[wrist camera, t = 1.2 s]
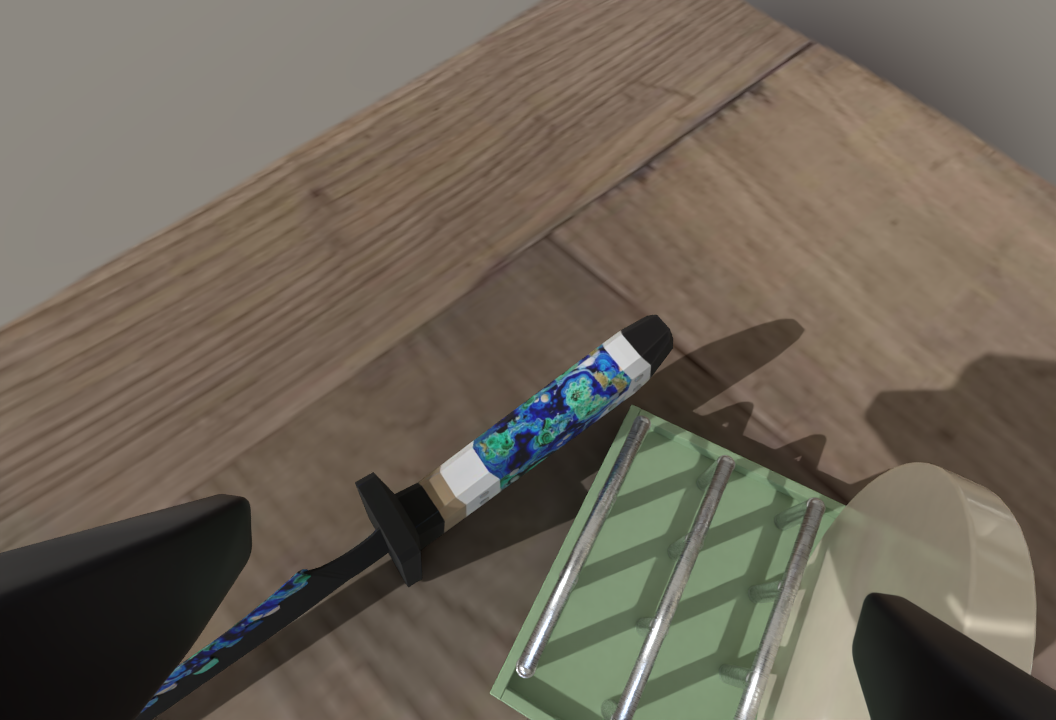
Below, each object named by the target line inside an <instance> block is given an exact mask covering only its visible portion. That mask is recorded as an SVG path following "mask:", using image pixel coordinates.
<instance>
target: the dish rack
mask: <svg viewBox="0 0 1056 720" xmlns="http://www.w3.org/2000/svg"><path fill="white" fill-rule="evenodd" d="M845 507H846V506H845V505H843V504H841V503H839V502H837V501H835V500H833V499H831V498H829V497H826V496H824V495H822V494H820V493H818V492H816V491H814V490H812V489H809V488H807V487H805V486H803V485H801V484H799V483H797V482H795V481H793V480H790V479H788V478H786V477H784V476H782V475H780V474H778V473H776V472H774V471H771V470H769V469H767V468H765V467H763V466H761V465H759V464H757V463H755V462H752V461H750V460H748V459H746V458H744V457H742V456H740V455H738V454H736V453H733V452H731V451H729V450H727V449H725V448H723V447H721V446H719V445H717V444H714V443H712V442H710V441H708V440H706V439H704V438H702V437H700V436H698V435H695V434H693V433H691V432H689V431H687V430H685V429H683V428H681V427H678V426H676V425H674V424H672V423H670V422H668V421H666V420H664V419H662V418H659V417H657V416H655V415H653V414H651V413H649V412H647V411H645V410H643V409H640V408H638V407H636V406H634V405H631V407H630V409H629V411H628V413H627V415H626V417H625V419H624V421H623V423H622V425H621V427H620V429H619V431H618V433H617V435H616V437H615V439H614V441H613V443H612V445H611V447H610V449H609V451H608V453H607V456H606V458H605V460H604V462H603V464H602V466H601V468H600V470H599V472H598V474H597V476H596V478H595V480H594V482H593V484H592V486H591V488H590V490H589V492H588V494H587V496H586V498H585V500H584V502H583V504H582V506H581V508H580V510H579V512H578V514H577V516H576V518H575V521H574V523H573V525H572V527H571V529H570V531H569V533H568V535H567V537H566V539H565V541H564V543H563V545H562V547H561V549H560V551H559V553H558V555H557V557H556V559H555V561H554V563H553V565H552V567H551V569H550V571H549V573H548V575H547V577H546V579H545V581H544V584H543V586H542V588H541V590H540V592H539V594H538V596H537V598H536V600H535V602H534V604H533V606H532V608H531V610H530V612H529V614H528V616H527V618H526V620H525V622H524V624H523V626H522V628H521V630H520V632H519V634H518V636H517V638H516V640H515V642H514V644H513V646H512V649H511V651H510V653H509V655H508V657H507V659H506V661H505V663H504V665H503V667H502V669H501V671H500V673H499V675H498V677H497V679H496V681H495V683H494V685H493V687H492V689H491V691H490V694H491V695H493V696H494V697H496V698H497V699H501V701H502V702H504V703H505V704H507V705H509V706H510V707H512V708H513V709H515V710H517V711H518V712H520V713H521V714H523V715H525V716H526V717H528V718H529V719H531V720H757V714H758V708H759V705H760V702H761V699H762V696H763V693H764V690H765V689H766V686H767V681H768V678H769V675H770V672H771V669H772V666H773V663H774V660H775V657H776V654H777V651H778V648H779V645H780V642H781V639H782V637H783V634H784V631H785V628H786V625H787V622H788V619H789V616H790V613H791V610H792V607H793V604H794V601H795V598H796V596H797V592H798V589H799V586H800V583H801V580H802V577H803V574H804V571H805V568H806V565H807V562H808V560H809V559H810V557H811V555H812V553H813V552H814V550H815V548H816V547H817V545H818V543H819V542H820V540H821V539H822V537H823V536H824V534H825V533H826V531H827V530H828V528H829V527H830V526H831V524H832V523H833V522H834V520H835V519H836V518H837V516H838V515H839V514H840V513H841V511H842V510H843V509H844V508H845Z"/></svg>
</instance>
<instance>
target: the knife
mask: <svg viewBox="0 0 1056 720" xmlns="http://www.w3.org/2000/svg"><path fill="white" fill-rule="evenodd" d="M672 349H673V337H672V334H671V331H670V329H669V328H668V327H667V325H666V324H665V323H664V322H663V321H662V320H661V319H660V318H659V317H658V315H650V316H646V317H644V318H642V319H641V320H639V321H637V322H635V323H633V324H631V325H630V326H628V327H626V328H624V329H622V330H621V331H619V332H618V333H616V334H615V335H614V336H612V337H611V338H610V339H608V340H607V341H606V342H604V343H603V344H602V345H600V346H599V347H598V348H596V349H595V350H594V351H592V352H591V353H590V354H588V355H587V356H586V357H584V358H583V359H582V360H580V361H579V362H578V363H576V364H575V365H574V366H572V367H571V368H570V369H568V370H567V371H566V372H564V373H563V374H562V375H560V376H559V377H558V378H556V379H555V380H554V381H552V382H551V383H550V384H548V385H547V386H546V387H544V388H543V389H542V390H540V391H539V392H538V393H536V394H535V395H534V396H532V397H531V398H530V399H528V400H527V401H526V402H524V403H523V404H522V405H520V406H519V407H518V408H516V409H515V410H514V411H512V412H511V413H510V414H508V415H507V416H506V417H504V418H503V419H502V420H500V421H499V422H498V423H496V424H495V425H494V426H492V427H491V428H490V429H488V430H487V431H486V432H484V433H483V434H482V435H480V436H479V437H478V438H476V439H475V440H474V441H472V442H471V443H470V444H469V445H467V446H466V447H465V448H463V449H462V450H461V451H459V452H458V453H457V454H455V455H454V456H453V457H451V458H450V459H449V460H447V461H446V462H445V463H443V464H442V465H441V466H439V467H438V468H437V469H435V470H434V471H433V472H431V473H430V474H429V475H427V476H426V477H425V478H423V479H422V480H421V481H419V482H418V483H416V484H414V485H412V486H410V487H408V488H406V489H404V490H402V491H400V492H398V493H396V494H394V493H393V492H392V491H391V490H390V489H389V488H388V487H387V486H386V485H385V484H384V483H383V482H382V481H381V480H380V479H379V478H378V477H377V475H376V474H375V473H374V472H373V473H371V474H369V475H367V476H366V477H364V478H362V479H360V480H359V481H357V482H355V484H356V487H357V489H358V492H359V494H360V497H361V499H362V502H363V504H364V507H365V509H366V512H367V514H368V517H369V519H370V521H371V523H372V524H373V526H374V528H375V531H374V532H373V533H372V534H371V535H370V536H369V537H368V538H367V539H365V540H364V541H363V542H361V543H360V544H359V545H357V546H356V547H354V548H353V549H352V550H350V551H349V552H347V553H345V554H344V555H342V556H340V557H339V558H337V559H335V560H333V561H331V562H329V563H327V564H325V565H323V566H321V567H319V568H315V569H312V570H307V569H303V570H301V571H299V572H297V573H296V574H295V575H294V576H293V577H292V578H291V579H290V580H288V581H287V582H286V583H285V584H284V585H283V586H282V587H281V588H279V589H278V590H277V591H276V592H275V593H274V594H273V595H271V596H270V597H269V598H268V599H266V600H265V601H264V602H263V603H262V604H260V605H259V606H258V607H257V608H256V609H254V610H253V611H252V612H251V613H250V614H248V615H247V616H246V617H244V618H243V619H242V620H241V621H239V622H238V623H237V624H236V625H234V626H233V627H232V628H231V629H229V630H228V631H227V632H225V633H224V634H223V635H221V636H220V637H219V638H217V639H216V640H214V641H213V642H212V643H210V644H209V645H207V646H206V647H204V648H203V649H202V650H200V651H199V652H197V653H196V654H195V655H193V656H192V657H190V658H189V659H188V660H186V661H185V662H183V663H182V664H180V665H179V666H178V667H176V668H175V670H174V671H173V672H172V674H171V675H170V676H169V677H168V679H167V680H166V681H165V682H164V684H163V685H162V686H161V687H160V689H159V690H158V691H157V692H156V694H155V695H154V696H153V697H152V699H151V700H150V701H149V703H148V704H147V705H146V706H145V708H144V709H143V710H142V711H141V713H140V714H139V715H138V716H137V718H136V719H135V720H152V719H153V718H155V717H156V716H158V715H159V714H161V713H162V712H164V711H165V710H166V709H168V708H169V707H171V706H172V705H174V704H175V703H177V702H178V701H179V700H181V699H182V698H184V697H185V696H187V695H188V694H190V693H191V692H192V691H194V690H195V689H197V688H198V687H200V686H201V685H202V684H204V683H205V682H207V681H208V680H210V679H211V678H213V677H214V676H215V675H217V674H218V673H220V672H221V671H223V670H224V669H226V668H227V667H228V666H230V665H231V664H233V663H234V662H236V661H237V660H238V659H240V658H241V657H243V656H244V655H246V654H247V653H249V652H250V651H251V650H253V649H254V648H256V647H257V646H259V645H260V644H261V643H263V642H264V641H266V640H267V639H269V638H270V637H271V636H273V635H274V634H276V633H277V632H278V631H280V630H281V629H283V628H284V627H286V626H287V625H288V624H290V623H291V622H293V621H294V620H295V619H297V618H298V617H300V616H301V615H302V614H304V613H305V612H306V611H308V610H309V609H310V608H312V607H313V606H314V605H316V604H317V603H318V602H320V601H321V600H322V599H324V598H325V597H326V596H328V595H329V594H330V593H332V592H333V591H334V590H336V589H337V588H338V587H340V586H341V585H343V584H344V583H345V582H347V581H348V580H349V579H351V578H353V577H354V576H356V575H357V574H359V573H360V572H362V571H363V570H365V569H366V568H368V567H369V566H370V565H372V564H373V563H375V562H376V561H377V560H379V559H380V558H382V557H383V556H384V555H386V554H387V553H389V555H390V556H391V558H392V560H393V562H394V564H395V565H396V567H397V569H398V571H399V572H400V574H401V576H402V578H403V579H404V581H405V583H406V585H407V586H408V587H410V586H411V585H413V584H414V583H416V582H418V581H419V580H421V579H422V569H421V550H422V549H423V548H425V547H426V546H427V545H429V544H430V543H431V542H433V541H434V540H435V539H437V538H438V537H440V536H441V535H442V534H444V533H445V532H446V531H447V530H449V529H450V528H452V527H453V526H454V525H456V524H457V523H458V522H460V521H461V520H462V519H464V518H465V517H467V516H468V515H469V514H471V513H472V512H473V511H475V510H476V509H477V508H479V507H480V506H482V505H483V504H484V503H486V502H487V501H488V500H490V499H491V498H492V497H494V496H495V495H497V494H498V493H499V492H501V491H502V490H503V489H505V488H506V487H507V486H509V485H510V484H511V483H513V482H514V481H516V480H517V479H518V478H520V477H521V476H522V475H524V474H525V473H526V472H528V471H529V470H531V469H532V468H533V467H535V466H536V465H537V464H539V463H540V462H541V461H543V460H544V459H546V458H547V457H548V456H550V455H551V454H552V453H554V452H555V451H556V450H558V449H559V448H561V447H562V446H563V445H565V444H566V443H567V442H569V441H570V440H571V439H573V438H574V437H575V436H577V435H578V434H580V433H581V432H582V431H584V430H585V429H586V428H588V427H589V426H590V425H592V424H593V423H595V422H596V421H597V420H599V419H600V418H601V417H603V416H604V415H605V414H607V413H608V412H610V411H611V410H613V409H614V408H615V407H616V406H618V405H619V404H620V403H622V402H623V401H625V400H626V399H627V398H629V397H630V396H631V395H633V394H634V393H635V392H636V391H637V390H639V389H640V388H641V387H642V386H643V385H644V384H645V383H646V382H647V381H648V380H649V379H650V378H651V377H652V375H653V374H654V373H655V371H656V370H657V369H658V367H659V366H660V365H661V363H662V362H663V361H664V359H665V358H666V357H667V355H668V354H669V353H670V351H671V350H672Z"/></svg>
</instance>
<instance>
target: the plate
mask: <svg viewBox="0 0 1056 720" xmlns="http://www.w3.org/2000/svg"><path fill="white" fill-rule="evenodd" d="M872 592H877V593H884V594H890V595H897V596H901V597H904V598H906V599H907V600H909V601H910V602H912V603H914V604H915V605H917V606H919V607H920V608H922V609H924V610H925V611H927V612H928V613H930V614H932V615H933V616H935V617H937V618H938V619H940V620H941V621H943V622H945V623H946V624H948V625H950V626H951V627H953V628H954V629H956V630H958V631H959V632H961V633H963V634H964V635H966V636H968V637H969V638H971V639H972V640H974V641H976V642H977V643H979V644H981V645H982V646H984V647H985V648H987V649H989V650H990V651H992V652H994V653H995V654H997V655H999V656H1000V657H1002V658H1003V659H1005V660H1007V661H1008V662H1010V663H1012V664H1013V665H1015V666H1016V667H1018V668H1020V669H1021V670H1023V671H1025V672H1026V673H1028V674H1030V675H1031V669H1032V662H1033V654H1034V646H1035V639H1036V611H1037V602H1036V590H1035V577H1034V571H1033V566H1032V561H1031V557H1030V552H1029V548H1028V545H1027V543H1026V540H1025V537H1024V534H1023V532H1022V529H1021V527H1020V525H1019V523H1018V522H1017V520H1016V518H1015V516H1014V515H1013V513H1012V511H1011V510H1010V509H1009V508H1008V506H1007V505H1006V504H1005V503H1004V502H1003V501H1002V500H1001V499H1000V497H999V496H997V495H996V494H995V493H993V492H992V491H990V490H989V489H988V488H986V487H985V486H982V485H980V484H978V483H976V482H973V481H971V480H969V479H967V478H964V477H962V476H960V475H958V474H955V473H953V472H951V471H949V470H946V469H944V468H942V467H939V466H937V465H934V464H931V463H922V462H913V463H907V464H903V465H900V466H897V467H895V468H892V469H890V470H889V471H887V472H885V473H883V474H881V475H880V476H879V477H877V478H876V479H874V480H873V481H872V482H870V483H869V484H868V485H867V486H866V487H864V488H863V489H862V490H861V491H860V492H859V493H858V494H857V495H856V496H855V497H854V498H853V499H852V500H851V501H850V502H849V503H848V504H847V505H846V507H845V508H844V509H843V510H842V511H841V513H840V514H839V515H838V516H837V518H836V519H835V520H834V522H833V523H832V524H831V526H830V527H829V528H828V530H827V531H826V533H825V534H824V536H823V537H822V539H821V540H820V542H819V543H818V545H817V547H816V548H815V550H814V552H813V553H812V555H811V557H810V559H809V560H808V562H807V565H806V568H805V571H804V574H803V577H802V580H801V583H800V586H799V589H798V592H797V596H796V598H795V601H794V604H793V607H792V610H791V613H790V616H789V619H788V622H787V625H786V628H785V631H784V634H783V637H782V639H781V642H780V645H779V648H778V651H777V654H776V657H775V660H774V663H773V666H772V669H771V672H770V675H769V678H768V681H767V686H766V689H765V690H764V693H763V696H762V699H761V702H760V705H759V708H758V714H757V720H871V719H870V715H869V712H868V709H867V705H866V702H865V699H864V695H863V692H862V689H861V685H860V682H859V679H858V676H857V672H856V669H855V666H854V662H853V657H852V643H853V639H854V635H855V631H856V627H857V623H858V620H859V616H860V612H861V608H862V605H863V601H864V599H865V597H866V596H867V595H868V594H870V593H872Z"/></svg>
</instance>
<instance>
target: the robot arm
mask: <svg viewBox="0 0 1056 720" xmlns="http://www.w3.org/2000/svg"><path fill="white" fill-rule="evenodd" d="M251 548H252V536H251V509H250V504H249V501H248V500H247V499H246V498H244V497H240V496H233V495H226V494H218V495H214V496H210V497H207V498H203V499H199V500H196V501H192V502H188V503H184V504H181V505H177V506H173V507H170V508H166V509H162V510H158V511H155V512H151V513H147V514H144V515H140V516H136V517H133V518H129V519H125V520H121V521H118V522H114V523H110V524H107V525H103V526H99V527H95V528H92V529H88V530H84V531H81V532H77V533H73V534H69V535H66V536H62V537H58V538H55V539H51V540H47V541H43V542H40V543H36V544H32V545H29V546H25V547H21V548H17V549H14V550H10V551H6V552H3V553H0V720H135V719H136V718H137V716H138V715H139V714H140V713H141V711H142V710H143V709H144V708H145V706H146V705H147V704H148V703H149V701H150V700H151V699H152V697H153V696H154V695H155V694H156V692H157V691H158V690H159V689H160V687H161V686H162V685H163V684H164V682H165V681H166V680H167V679H168V677H169V676H170V675H171V674H172V672H173V671H174V670H175V668H176V667H177V666H178V665H179V663H180V662H181V661H182V659H183V658H184V657H185V655H186V654H187V653H188V651H189V650H190V649H191V647H192V646H193V644H194V643H195V641H196V640H197V639H198V637H199V636H200V634H201V633H202V631H203V630H204V628H205V627H206V625H207V623H208V622H209V620H210V619H211V617H212V616H213V614H214V613H215V611H216V610H217V608H218V607H219V605H220V603H221V602H222V600H223V599H224V597H225V596H226V594H227V593H228V591H229V590H230V588H231V587H232V585H233V583H234V582H235V580H236V579H237V577H238V576H239V574H240V573H241V571H242V570H243V568H244V567H245V565H246V563H247V561H248V559H249V557H250V553H251ZM852 657H853V662H854V666H855V669H856V672H857V676H858V679H859V682H860V685H861V689H862V692H863V695H864V699H865V702H866V705H867V709H868V712H869V715H870V719H871V720H1056V690H1054V689H1052V688H1051V687H1049V686H1047V685H1046V684H1044V683H1043V682H1041V681H1039V680H1038V679H1036V678H1034V677H1033V676H1031V675H1030V674H1028V673H1026V672H1025V671H1023V670H1021V669H1020V668H1018V667H1016V666H1015V665H1013V664H1012V663H1010V662H1008V661H1007V660H1005V659H1003V658H1002V657H1000V656H999V655H997V654H995V653H994V652H992V651H990V650H989V649H987V648H985V647H984V646H982V645H981V644H979V643H977V642H976V641H974V640H972V639H971V638H969V637H968V636H966V635H964V634H963V633H961V632H959V631H958V630H956V629H954V628H953V627H951V626H950V625H948V624H946V623H945V622H943V621H941V620H940V619H938V618H937V617H935V616H933V615H932V614H930V613H928V612H927V611H925V610H924V609H922V608H920V607H919V606H917V605H915V604H914V603H912V602H910V601H909V600H907V599H906V598H904V597H901V596H897V595H890V594H884V593H877V592H872V593H870V594H868V595H867V596H866V597H865V599H864V601H863V605H862V608H861V612H860V616H859V620H858V623H857V627H856V631H855V635H854V639H853V643H852Z"/></svg>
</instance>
